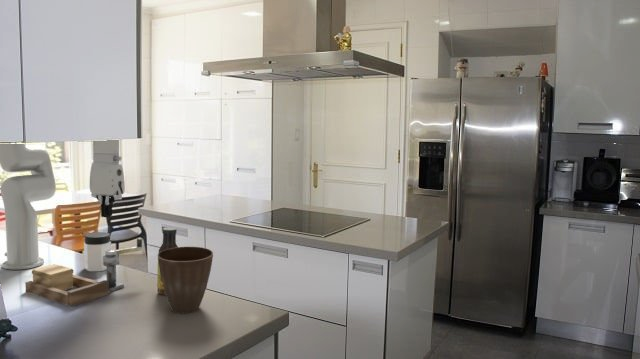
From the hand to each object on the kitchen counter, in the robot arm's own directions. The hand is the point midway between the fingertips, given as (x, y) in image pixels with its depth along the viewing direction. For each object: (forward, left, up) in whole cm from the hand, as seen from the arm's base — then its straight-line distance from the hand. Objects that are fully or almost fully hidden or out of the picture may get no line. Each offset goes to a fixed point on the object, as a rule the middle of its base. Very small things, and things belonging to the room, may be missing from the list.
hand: (106, 216), depth 156 cm
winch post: (+6, -3, -22) cm, 23 cm away
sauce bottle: (+23, +4, -22) cm, 32 cm away
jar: (-15, +8, -22) cm, 28 cm away
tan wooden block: (-8, -13, -22) cm, 27 cm away
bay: (-2, -13, -22) cm, 25 cm away
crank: (+7, +1, -11) cm, 13 cm away
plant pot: (+37, -3, -22) cm, 43 cm away
